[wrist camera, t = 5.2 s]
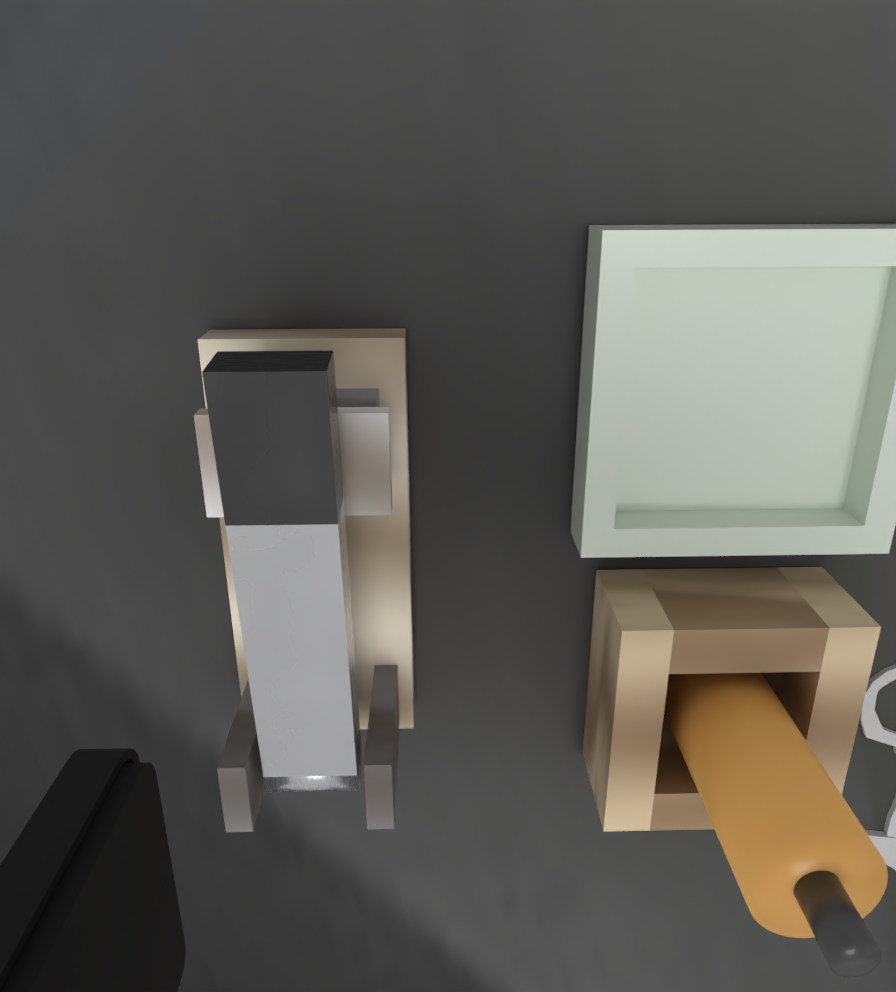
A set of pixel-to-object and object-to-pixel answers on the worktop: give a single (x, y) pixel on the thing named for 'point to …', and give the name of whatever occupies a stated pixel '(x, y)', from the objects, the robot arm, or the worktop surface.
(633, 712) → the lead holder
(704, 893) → the worktop surface
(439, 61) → the worktop surface
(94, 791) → the robot arm
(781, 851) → the plug
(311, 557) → the lever
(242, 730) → the base
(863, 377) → the tray
